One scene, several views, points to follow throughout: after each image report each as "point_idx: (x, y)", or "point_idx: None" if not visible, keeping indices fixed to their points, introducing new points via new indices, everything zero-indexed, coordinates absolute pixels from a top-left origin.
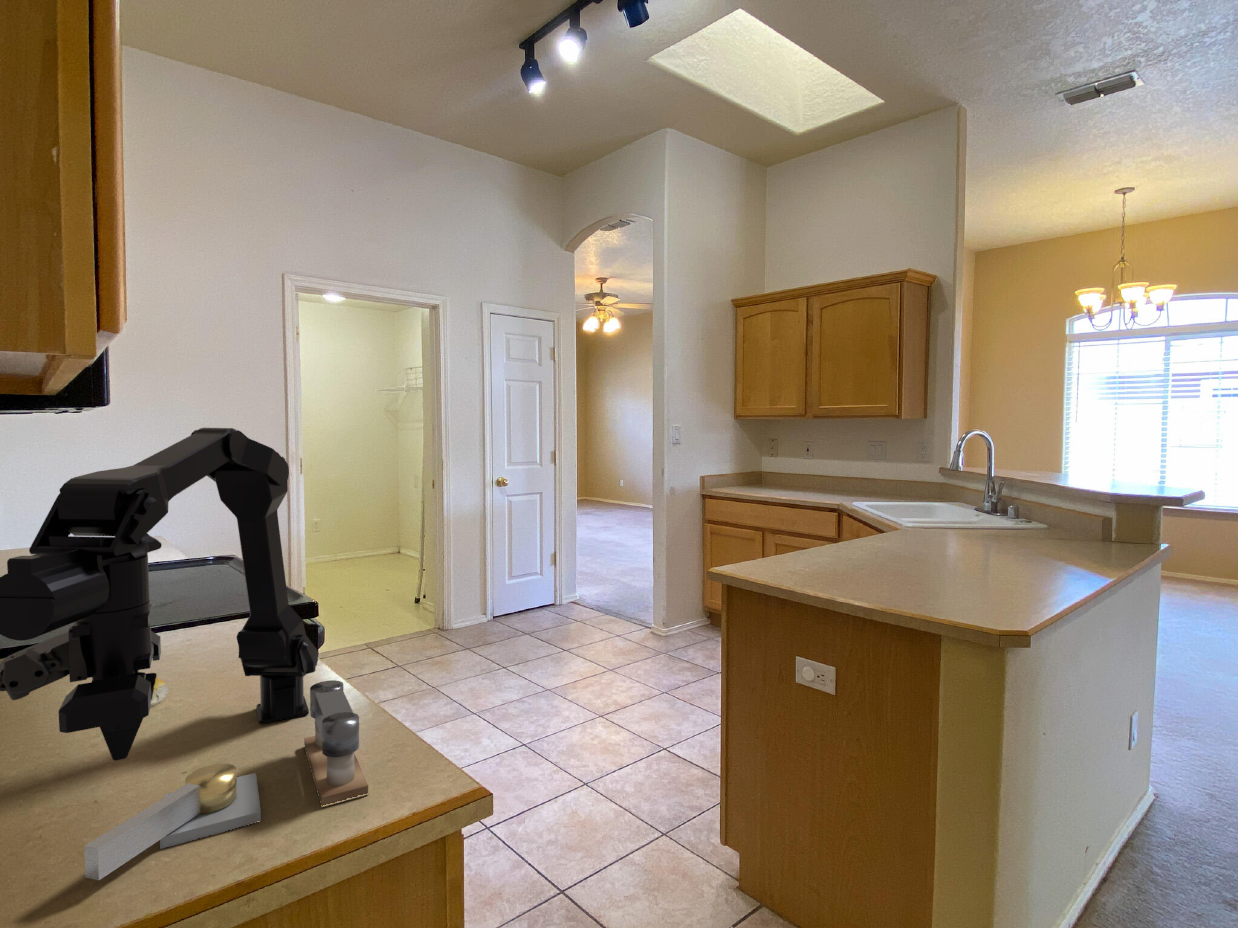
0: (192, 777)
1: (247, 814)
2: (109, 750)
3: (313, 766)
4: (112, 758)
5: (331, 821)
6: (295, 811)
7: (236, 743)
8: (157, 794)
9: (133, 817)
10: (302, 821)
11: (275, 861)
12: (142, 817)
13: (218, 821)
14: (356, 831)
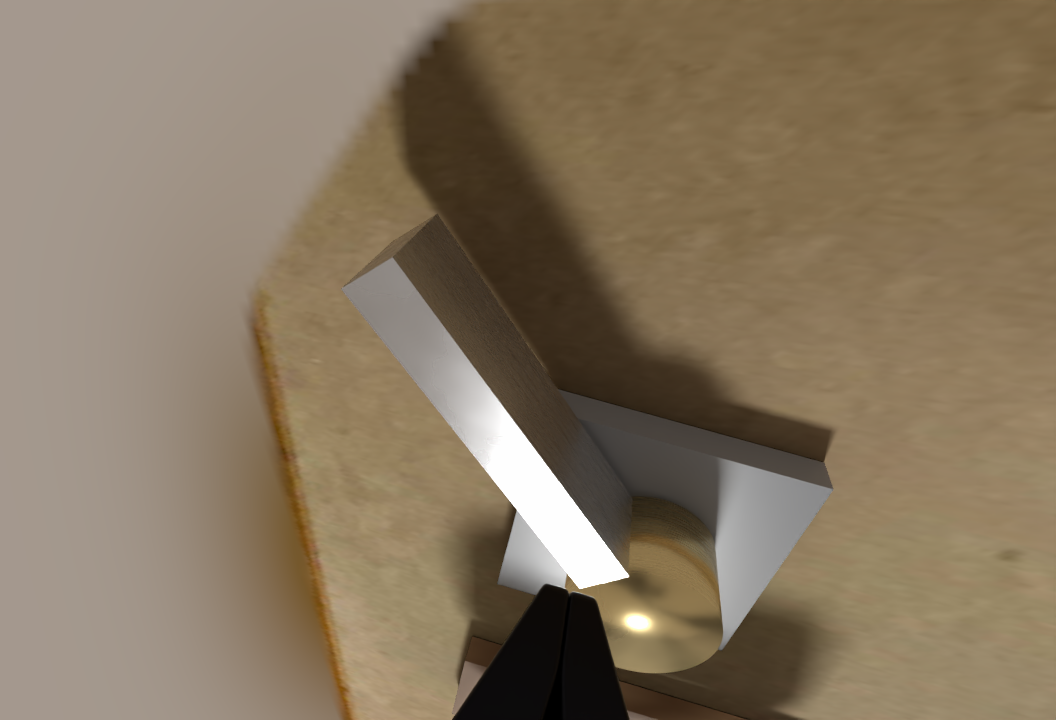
0: (670, 594)
1: (505, 564)
2: (508, 641)
3: (630, 711)
4: (539, 591)
5: (407, 622)
6: (497, 608)
7: (1049, 688)
8: (929, 466)
9: (498, 415)
10: (445, 598)
11: (324, 518)
12: (480, 432)
13: (521, 518)
14: (343, 626)
